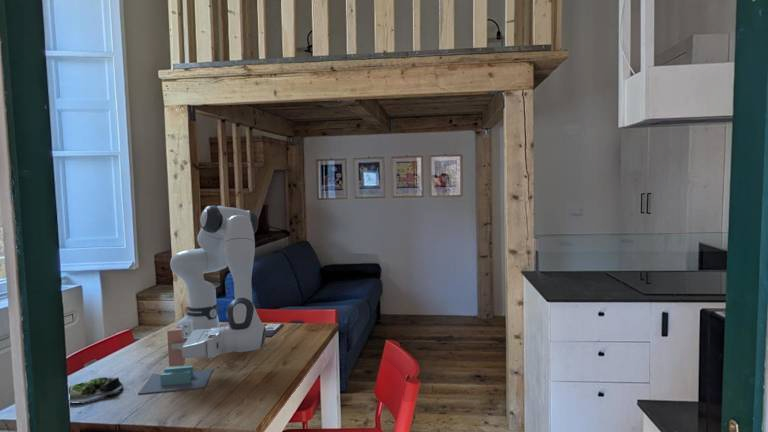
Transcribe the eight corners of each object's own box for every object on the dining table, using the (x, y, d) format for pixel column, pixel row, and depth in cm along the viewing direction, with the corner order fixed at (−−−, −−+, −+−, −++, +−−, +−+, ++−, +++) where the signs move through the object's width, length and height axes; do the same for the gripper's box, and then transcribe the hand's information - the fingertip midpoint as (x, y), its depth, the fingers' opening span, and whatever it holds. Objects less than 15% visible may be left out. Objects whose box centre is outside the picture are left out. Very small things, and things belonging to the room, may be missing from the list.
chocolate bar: (251, 335, 210) (265, 324, 228) (251, 338, 210) (265, 326, 228) (271, 336, 209) (283, 324, 227) (271, 338, 209) (283, 326, 227)
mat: (138, 394, 152) (138, 393, 152) (152, 375, 168) (152, 374, 168) (204, 388, 156) (204, 387, 156) (212, 370, 172) (212, 369, 172)
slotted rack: (160, 385, 158) (160, 375, 158) (165, 378, 164) (165, 368, 164) (189, 382, 160) (189, 372, 159) (193, 375, 166) (193, 365, 166)
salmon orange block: (185, 362, 163) (183, 327, 163) (183, 365, 161) (181, 329, 160) (170, 364, 162) (169, 328, 162) (169, 366, 160) (167, 330, 159)
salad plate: (56, 415, 140) (55, 399, 140) (46, 396, 153) (45, 382, 153) (129, 395, 153) (128, 380, 153) (114, 379, 166) (113, 366, 166)
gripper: (220, 323, 174) (179, 326, 171) (211, 340, 154) (164, 344, 151) (221, 340, 174) (180, 344, 171) (212, 359, 154) (166, 364, 151)
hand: (173, 344), depth 161 cm, fingers closed on salmon orange block, 2 cm apart
